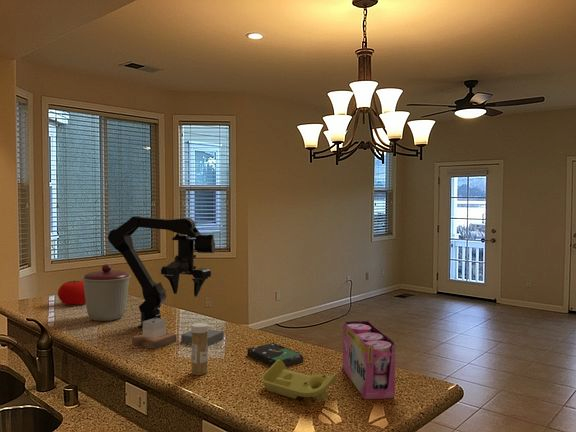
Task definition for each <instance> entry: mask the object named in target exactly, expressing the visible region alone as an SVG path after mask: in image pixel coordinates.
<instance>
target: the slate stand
mask: <svg viewBox="0 0 576 432" xmlns="http://www.w3.org/2000/svg"><path fill="white" fill-rule="evenodd" d="M224 332H225V331H222V330H216V329H215V330H214V329H209V328H208V333H207V344H208V347H209V346H212V345H214V344H215V343H217V342H220V341H222V340H224V335H225V334H224ZM180 335H181V336H180V342H181V343H183V342H185V343H184V344H188V343H190V344H189V345H192V332H191V330H190V331H187V332H185V333H183V334H180Z"/></svg>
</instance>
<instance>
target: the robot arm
mask: <svg viewBox="0 0 576 432" xmlns="http://www.w3.org/2000/svg"><path fill="white" fill-rule="evenodd" d="M139 228H144V229H154V230H155V229H156V230H167V231H170V232H173V233H176V234H175V236H174V237H172V238H171V240H172V241H177V255H174V261H171V262H170V263H169V264H167V265H164V266H162V267H161V268H160V275H163V278H164V277H165V278H166V279H167V280H168V282H169V283H170V287H171V289H172V292H173V295H177V293H178V288H179V282H180V281H179V280H180V275H189V276H190V275H192V277H193V278H192V279H191V280H192V282H193V295H194V297H195V298H197V297H198V295H199V294H200V290H201V289H202V286H203V284H204V283H205V281H206V280H207V279H209V278H210V277H212V271H211V270H210V268H202V267H200V268H197V266H196V265H195V264H194V262H195V260H194V259H196V258H197V255H196V254H194V253H195V251H196V252H197V253H198V254H215V249H216V242H215V237H214V234H210V233H209V234H202V233H200V231H199V230H198V228H197V226H196V223H195V220H194V219H192V218H190V217H183V218H171V219H169V218H168V219H167V218H159V217H145V216H141V215H140V216H139V215H135V216H131V217H130V218H129V219H128V220H127V221H125V222H124V223H122V224H121V225H119V227H117V228H115V229H112V230H110V231H109V233H108V236H107V239H108V241H109V243H110V244H111V246H113V248H114V249H115V250H116V251H118V252H119V253H120V254H121V255H122V256H123V259H124V260H125V261H126V263H127V265H128V266H129V268H130V269H131V272H132V273H133V275H134V276H135V279H136V280H137V282H138V284H139V285H140V287H141V291H142V296H143V299H144V301H143V302H142V303H141V304H140V305H138V309H139V312H140V324H139V325H137V328H142V329H143V321H146V320H149V319H153V318H155V317H156V318H161V319H162V317H161V310H160V309H159V308H161V307H162V304H163V303H165V302H166V298H167V294H166V292H167V290H166V289H165V288H164V286H163V284H162V283H161V281H160V282H158V283H157V282H155V281H154V280H153V278H152V277H151V275H150V273H149V271H148V269H146V266H145V265H144V263H143V261H142V260H141V258H140V256H139V255H138V253H137V251H136V250H135V247H134V242H133V238H132V235H133V234H134V233H135V232H137V230H138V229H139Z"/></svg>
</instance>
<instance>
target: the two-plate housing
mask: <svg viewBox="0 0 576 432" xmlns="http://www.w3.org/2000/svg"><path fill="white" fill-rule="evenodd" d="M166 333H167V319H166V318H162V317H161V318H156V317H155V318H153V319H149V320H146V321H143V328H142V334H143V337H146V338H152V339H154V338H157V337H160V336H162V335H165V334H166Z"/></svg>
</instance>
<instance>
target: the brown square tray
mask: <svg viewBox="0 0 576 432" xmlns="http://www.w3.org/2000/svg"><path fill="white" fill-rule="evenodd" d="M173 342H174V343H176V342H177V334H175V333H171V332H170V333H169V332H166V334H165V335H162V336H160V337H157V338H154V339H152V338H146V337H143V333H142V334H139V335H136V336H133V337H131V345H132V346H134V347H135V346H137V347H141V348H147V349H152V350H158V348H159V349H161V348H163V346H164V347H165V345H166V346H168V344H169V345H170V343H171V344H173ZM160 347H161V348H160Z"/></svg>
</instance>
